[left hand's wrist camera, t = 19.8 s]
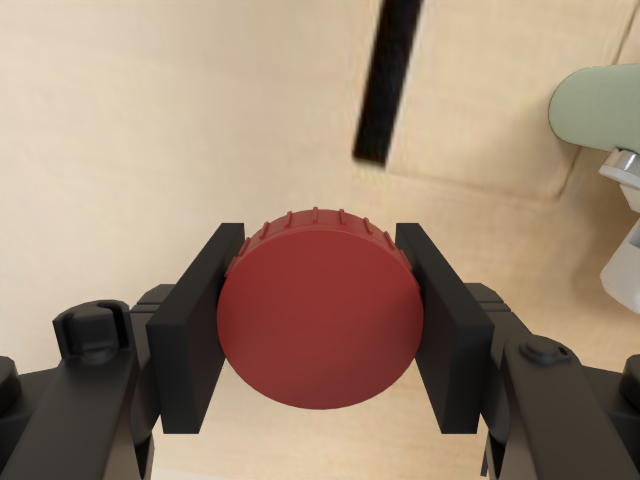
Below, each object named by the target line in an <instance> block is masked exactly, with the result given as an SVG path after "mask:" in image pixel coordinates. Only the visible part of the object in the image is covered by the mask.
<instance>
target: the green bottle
mask: <svg viewBox="0 0 640 480" xmlns="http://www.w3.org/2000/svg"><path fill="white" fill-rule="evenodd" d="M549 121H550V124H551V127H552V129H553V131H554V132H555V134H556V135H557V136H558V137H559V138H561V139H562V140H564V141H566V142H569V143H573V144H577V145H582V146H586V147H591V148H596V149H600V150H605V151H610V152H611V151H612V150H613V148H617V149H620V150H622V151H623V150H627V151H631V152H634V153H637V154H639V155H640V63H637V64H624V65H612V66H599V67H588V68H584V69H581V70H579V71H577V72H575V73H573V74H572V75H570V76H569V77H567V78H566V79H565V80H564V81H563V82H562V83H561V84H560V86H559V87H558V88H557V90H556V91H555V93H554V95H553V97H552V100H551V102H550V107H549Z"/></svg>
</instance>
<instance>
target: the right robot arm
mask: <svg viewBox="0 0 640 480" xmlns="http://www.w3.org/2000/svg"><path fill="white" fill-rule="evenodd" d="M598 173H600V174H602V175H604V176H607V177H609V178H611V179H613V180H616V181H618V182H620V187H621V189H622V191H623V193H624V195H625V197H626V199H627V201H628V204H629V206H630V208H631V210H634V211H636V212H638V213H640V155H639V154H637V153H634V152H631V151H627V150H623V151H622V150H620V149H617V148H613V150H612V151H611V153H610V154H609V156H608V157H607V159H606V160H605V162H604V163H603V165H602V167H601V168H600V170H599V171H598ZM600 279H601V282H602V285H603V287H604V289H605V291H606V292H607V293H608V294H609V295H610V296H611V297H613V298H614V299H615V300H617V301H618V302H619V303H621V304H622V305H624V306H626V307H627V308H629V309H630V310H632V311H633V312H635V313H637V314H639V315H640V218H639V219H638V221H637V222H636V223H635V225H634V226H633V228H632V229H631V230H630V232H629V233H628V235H627V236H626V238H625V239H624V240H623V242H622V243H621V245H620V246H619V248H618V249H617V250H616V252H615V253H614V255H613V256H612V257H611V259H610V260H609V262H608V263H607V264H606V266H605V267H604V268H603V270H602V272H601V274H600Z"/></svg>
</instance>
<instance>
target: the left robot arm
mask: <svg viewBox="0 0 640 480" xmlns="http://www.w3.org/2000/svg"><path fill="white" fill-rule="evenodd" d="M244 242H245V233H244V223H222V224H221V225H220V226H219V228H218V229H217V230H216V232H215V233H214V234H213V236H212V237H211V238H210V240H209V241H208V242H207V244H206V245H205V246H204V248H203V249H202V250H201V252H200V253H199V254H198V256H197V257H196V258H195V260H194V261H193V262H192V264H191V265H190V266H189V268H188V269H187V270H186V272H185V273H184V274H183V276H182V277H181V278H180V279H179V281H178V282H177V283H176V284H160V285H158V286H157V287H155V288H153V289H151V290H150V291H148V292H146V293H145V294H144V295H143V296H142V297H141V299H140V300H139V301H138V302H137V305H134V307H133V308H132V309H131V310H129V305H127V304H126V303H124V302H123V301H117V300H97V301H92V302H87V303H83V304H80V305H77V306H75V307H72V308H70V309H68V310H66V311H64V312H62V313H61V314H59V315H58V316H57V317H56V318H55V319H54V320H53V321H52V322H53V326H54V330H55V334H56V338H57V341H58V345H59V349H60V353H61V357H62V360H61V361H60V363H59V365H58V367H57V368H53V369H48V370H43V371H37V372H32V373H27V374H22V375H18V372H17V369H16V366H15V363H14V361H13V360H11V359H10V358H9V357H4V356H0V480H150V479H151V472H152V464H153V456H154V449H155V448H154V441H153V435H152V429H153V427H154V425H155V423H156V421H157V419H158V417H159V415H161V421H162V427H163V433H164V434H199V431H200V428H201V425H202V423H203V420H204V417H205V414H206V411H207V409H208V406H209V403H210V400H211V397H212V395H213V392H214V389H215V386H216V383H217V381H218V378H219V375H220V372H221V369H222V366H223V364H224V361H225V358H226V356H225V355H224V352H223V350H222V347H221V345H220V342H219V337H218V328H217V317H216V311H217V304H218V299H219V295H220V292H221V290H222V287H223V285H224V283H225V281H226V279H227V278H226V277H224V276H225V273H226V272H227V270H228V268H229V266H230V264H231V262H232V260H233V258H234V256H235V257H238V254H239V252H240V250H241V248H242V246H243V244H244ZM395 245H396V247H397V248H398V250H401V249H402V250H403V252H404V254H405V256H406V258H407V260H408V262H409V263H410V265H411V267H412V269H411V271H412V273H413V275H414V276H415V278H416V280H417V282H418V284H419V286H420V288H421V292H420V295H421V298H422V302H423V308H424V321H423V331H422V339H421V343H420V346H419V348H418V351H417V353H416V355H415V360H416V363H417V366H418V369H419V371H420V374H421V377H422V380H423V383H424V385H425V388H426V391H427V394H428V397H429V399H430V402H431V405H432V408H433V411H434V413H435V416H436V419H437V422H438V425H439V428H440V430H441V433H442V434H477V428H478V422H479V417H480V413H481V415H482V417H483V419H484V421H485V423H486V425H487V427H488V429H489V430H488V435H487V441H486V446H485V452H484V457H483V463H482V468H481V475H480V476H485V477H486V475H487V469H488V471H489V478H490V480H640V354H638V355H632V356H631V357H630V358H628V359H627V361H626V364H625V367H624V370H623V373H618V372H613V371H607V370H602V369H597V368H592V367H587V366H583V365H582V364H581V363H580V361H579V359H578V357H577V356H576V355H575V354H574V353H573V352H572V350H570V349H569V348H567V347H566V346H564V345H563V344H561V343H559V342H557V341H554V340H552V339H549V338H547V337H543V336H538V335H534V334H532V333H531V332H530V331H529V330H528V328H527V327H526V326H525V325H524V324H523V323H522V322H521V320H520V319H519V318H518V317H517V316H516V315H515V314H514V313H513V312H511V309H510V308H509V307H508V306H507V305H506V303H504V301H503V300H502V299H501V298H500V297H499V295H498V294H497V293H496V292H495V291H493V290H492V289H490V288H488V287H486V286H485V285H483V284H481V283H463V282H462V280H461V279H460V278H459V276H458V275H457V274H456V272H455V271H454V270H453V268H452V267H451V266H450V265H449V263H448V262H447V261H446V259H445V258H444V257H443V255H442V254H441V253H440V251H439V250H438V249H437V247H436V246H435V245H434V243H433V242H432V241H431V239H430V238H429V237H428V235H427V234H426V233H425V231H424V230H423V229H422V227H421V226H420V225H419V223H396V237H395Z"/></svg>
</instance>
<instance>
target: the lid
mask: <svg viewBox="0 0 640 480" xmlns="http://www.w3.org/2000/svg"><path fill="white" fill-rule="evenodd" d="M411 269H412V267H411V265H410V263H409V262H408V260H407V258H406V256H405V254H404V252H403V250H402V249H401V250H398V248H397V247H396V245H395V244H394V243H393V241H392V240H391V237H390V235H389V233H388V232H387V231H385V232H382V231H381V230H380V229H379V228H377V227H376V226H374V225H373V224H371V223H369V220H368V218H366V217H365V218H364V219H362V218H359V217H357V216H355V215H352V214H348V213H345V212H344V210H343V209H340V211H334V210H320V209H318V207H314V208H313V210H306V211H300V212H296V213H292V211H290V212H288V213H287V215H286V216H283V217H281V218H278V219H276V220H275V221H273V222H271V223H268V221H267V222H266V223H264V226H263V228H262V229H260V230H259V231H258V232H257V233H256V234H255V235H254V236H253V237H252V238H251V239H250V238H249V237H248V238H247V239H246V240H245V242H244V244H243V246H242V248H241V250H240V252H239V254H238V257H235V256H234V258H233V260H232V262H231V264H230V266H229V268H228V270H227V272H226V273H225V276H224V277H226V278H227V279H226V281H225V283H224V285H223V287H222V290H221V292H220V295H219V299H218V304H217V311H216V317H217V328H218V337H219V342H220V345H221V347H222V350H223V352H224V355H225V356H226V358H227V360H228V362H229V363H230V365H231V366H232V368H233V369H234V370H235V372H236V373H237V374H238V375H239V376H240V377H241V378H242V379H243V380H244V381H245V382H246V383H247V384H248V385H250V386H251V387H252V388H253V389H255V390H256V391H258V392H260V393H261V394H263V395H264V396H266V397H268V398H271V399H273V400H275V401H277V402H280V403H283V404H286V405H289V406H294V407H298V408H305V409H318V410H326V409H337V408H342V407H347V406H351V405H354V404H358V403H361V402H363V401H366V400H368V399H370V398H372V397H374V396H376V395H378V394H379V393H381V392H383V391H384V390H385V389H387V388H388V387H390V386H391V385H392V384H393V383H394V382H395V381H396V380H398V379H399V378H400V377H401V376H402V374H403V373H404V372H405V371H406V370H407V368H408V367H409V365H410V364H411V362H412V361H413V359H414V357H415V355H416V353H417V351H418V348H419V346H420V343H421V339H422V331H423V321H424V308H423V302H422V298H421V295H420V292H421V288H420V286H419V284H418V282H417V280H416V278H415V276H414V275H413V273H412V271H411Z"/></svg>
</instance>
